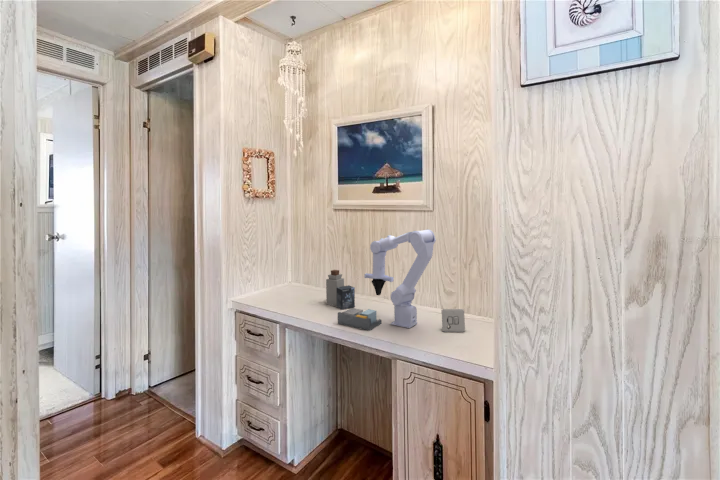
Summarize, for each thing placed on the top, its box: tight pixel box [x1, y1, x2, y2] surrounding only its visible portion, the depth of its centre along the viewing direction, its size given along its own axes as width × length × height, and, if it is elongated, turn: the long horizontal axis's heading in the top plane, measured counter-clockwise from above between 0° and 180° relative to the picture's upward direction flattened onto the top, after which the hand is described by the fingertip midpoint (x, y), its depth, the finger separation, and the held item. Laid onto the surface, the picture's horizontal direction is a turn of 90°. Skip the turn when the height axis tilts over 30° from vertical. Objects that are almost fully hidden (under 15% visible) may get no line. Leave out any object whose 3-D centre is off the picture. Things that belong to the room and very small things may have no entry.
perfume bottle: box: [325, 269, 345, 307], centre depth 195 cm, size 7×7×18 cm
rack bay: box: [337, 307, 383, 331], centre depth 164 cm, size 17×10×6 cm, turn 57°
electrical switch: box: [441, 308, 466, 333], centre depth 156 cm, size 9×5×9 cm, turn 87°
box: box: [336, 284, 356, 310], centre depth 189 cm, size 8×6×11 cm
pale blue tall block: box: [360, 308, 378, 323], centre depth 163 cm, size 4×7×6 cm, turn 146°
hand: (378, 294), depth 174 cm, fingers closed
